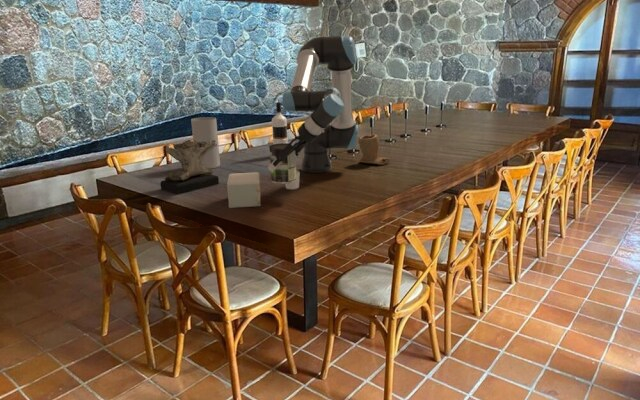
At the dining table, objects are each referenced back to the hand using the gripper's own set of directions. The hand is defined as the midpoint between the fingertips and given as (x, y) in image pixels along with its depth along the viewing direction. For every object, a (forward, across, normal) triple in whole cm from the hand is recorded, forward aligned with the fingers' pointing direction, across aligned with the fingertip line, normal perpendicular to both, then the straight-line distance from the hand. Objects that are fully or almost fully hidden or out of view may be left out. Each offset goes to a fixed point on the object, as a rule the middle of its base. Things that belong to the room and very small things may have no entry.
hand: (276, 166), depth 200 cm
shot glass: (+11, +17, -8) cm, 22 cm away
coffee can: (+2, 0, -6) cm, 6 cm away
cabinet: (+17, -8, -2) cm, 19 cm away
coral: (+41, +5, +21) cm, 46 cm away
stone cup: (-2, +72, -22) cm, 75 cm away
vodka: (+38, +76, +17) cm, 86 cm away
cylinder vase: (+55, +41, +35) cm, 77 cm away
